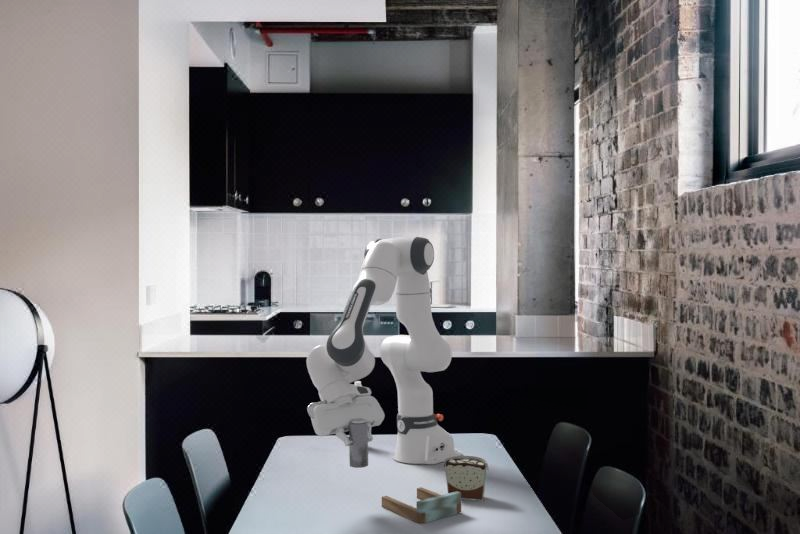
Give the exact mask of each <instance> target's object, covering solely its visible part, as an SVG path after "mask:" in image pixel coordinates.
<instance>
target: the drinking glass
mask: <svg viewBox="0 0 800 534" xmlns="http://www.w3.org/2000/svg"><path fill="white" fill-rule="evenodd" d="M350 421H351V422H349V431H348V435H349V436H348V437H350V436H351V438H352V440H353V443H352V445H350V446H348V447H349V448H348V451H349V453H348V454H349V455H348V456H349V467H351V468H357V469H358V468H366V467H368V466H369V442H368V422H367V421H366V419H362V418H356V419H351V420H350Z"/></svg>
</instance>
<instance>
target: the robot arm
mask: <svg viewBox="0 0 800 534" xmlns="http://www.w3.org/2000/svg"><path fill="white" fill-rule="evenodd" d="M363 254H364V256H363V257H364V259H363V262H362V264H361V267H360V270H359V274H358V276H357V280H356V283H355V284H354V286H353V287H352V290H351V291H350V294H349V297H348V299H347V302H346V305H345V307H344V310H343V313H342V315H341V317H340V319H339V322H338V324H336V327H334V329H333V330H332V331H331V333H330V334H329V336H328V338H327V341H326V344H320V345H317V346H316V347H313V349H312V350H311V351H309V353H308V355H307V357H306V360H305V362H306V368H307V372H308V374H309V377H310V379H311V381H312V384H313V386H314V387H315V388H316V389H317V391H318V396H319V399H320V401H317V402H311V403H309V405H308V406H307V407H306V410H307V414H308V416H309V417H310V420H311V425H312V427H313V430H314V433H315V434H316V435H317V436H318V437H325V436H330V435H336V437H337V438H338V439H340V440H341V441H342V442H343V443H344V446H345V447H349V446H350V445H352V443H353V440H352V438H351V436H350V437H349V436H348V435H347V434H346V432H349V422H351V421H350V420H351V419H356V418H362V419H366V421H367V422H368V443H370V442H372V441H373V440H374V436H373V435H372V428H373V427H376V426H377V427H378V426H380V425H381V424H382V422H384V419H385V417H386V415H385V412H384V410H383V408H382V407H381V404H380V403H379V402H378V400H377V399H376V398H375V396H372V395H371V394H372V390H371V388H370V387H367V386H363V385H362V386H357V385H355V384H352V383H355V382H356V381H360V380H361V379H362V380H363V379H364V378H366V377H368V376H369V375H370V374H371V373H372V372H373V370H374V369H375V366H376V357H375V355H374V353H373V352H372V350H371V348H370V347H369V345H368V344H367V342H366V340H365V336H364V332H363V331H364V329H363V328H364V325H365V322H366V319H367V317H368V314H369V311H370V308H371V306H383V305H385V304H386V303H388V302H390V300H391V298H392V296H393V295H394V293H395V295H394V296H395V297H394V298H395V313H396V314H395V315H396V319H397V320H398V321H399V322H400V323H401V324H402V325H403V326H404V327H405V328H406V331H407V333H408V335H407V334H398V335H397V334H395V335H392V336H391V335H390V336H387V337H385V338H384V339H383V341H382V342H381V345H380V348H379V356H380V359H381V360H382V362H383V364H384V365H385V366H386V367H387V368H388V369H389V371H390V373H391V375H392V376H393V379H394V382H395V385H396V391H397V407H398V408H397V411H398V413H397V415H396V427H397V436H396V437H397V438H396V444H395V445H396V446H395V450H394V454H393V457H392V459H393V460H395V461H396V462H399V463H405V464H416V465H417V464H419V465H421V464H424V465H425V464H426V465H436V464H440V463H444V461H445V459H446V458H449V457H453V456H463V454H462V451H461V450H459V449H457V448H455V442H454V438H453V435H451V433H449V432H447V431H446V430H445V429H444V428H443V427H442V426H440V425H439V424H438V421H439V422H442V421H443V420H444V415H443V414H440V413H437V414H435V413H434V397H433V396H434V395H433V394H434V393H433V389H432V387H431V386H430V384H429V383H427V382H426V380H424V378H423V376H422V372H423V373H424V372H426V373H435V372H442V371H445V370H446V369H448V367H449V366H450V364H451V361H452V356H453V353H452V348H451V345H450V344H449V343H448V342H447V341H446V340H445V339H444V338H443V337H442V336H441V334H440V332H439V331H438V329H437V327H436V325H435V321H434V319H433V315H432V306H431V305H432V304H431V288H430V279H429V274H428V271H429V270H430V269H431V267H432V265H433V263H434V260H435V248H434V246H433V243H432V242H431V241H430V240H429V239H428V238H425V237H421V236H420V237H419V236H415V237H413V236H412V237H411V236H397V237H390V238H384V239H382V238H377V239H374V240H372V241H370V242H369V243H368V244H367V246H366V247H365V249H364V253H363Z"/></svg>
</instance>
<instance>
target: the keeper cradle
mask: <svg viewBox="0 0 800 534" xmlns="http://www.w3.org/2000/svg"><path fill="white" fill-rule="evenodd" d="M416 498H417V499H419V500H418V501H416V507H415V506H412V505H409V504H407V503H405V502H402V501H400V500H398V499H395V498H393V497H390V496H388V495H383V496H381V507H382V508H384V509H386V510H388V511H391V512H394V513H396V514H397V515H400V516H402V517H404V518H406V519H408V520H411V521H413V522H415V523H418V524H420V525H422V524H426V523H430V522H432V521H435V520H441V519H444V518H447V517H451V516H454V515H458V514H461V513H462V499H461V492H458V491H456V492H452V493H448V492H447V493H445V494H439V493H437V492H435V491H432V490H430V489H427V488H425V487H422V486H421V487H417V488H416ZM460 512H461V513H460ZM457 513H458V514H457Z"/></svg>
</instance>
